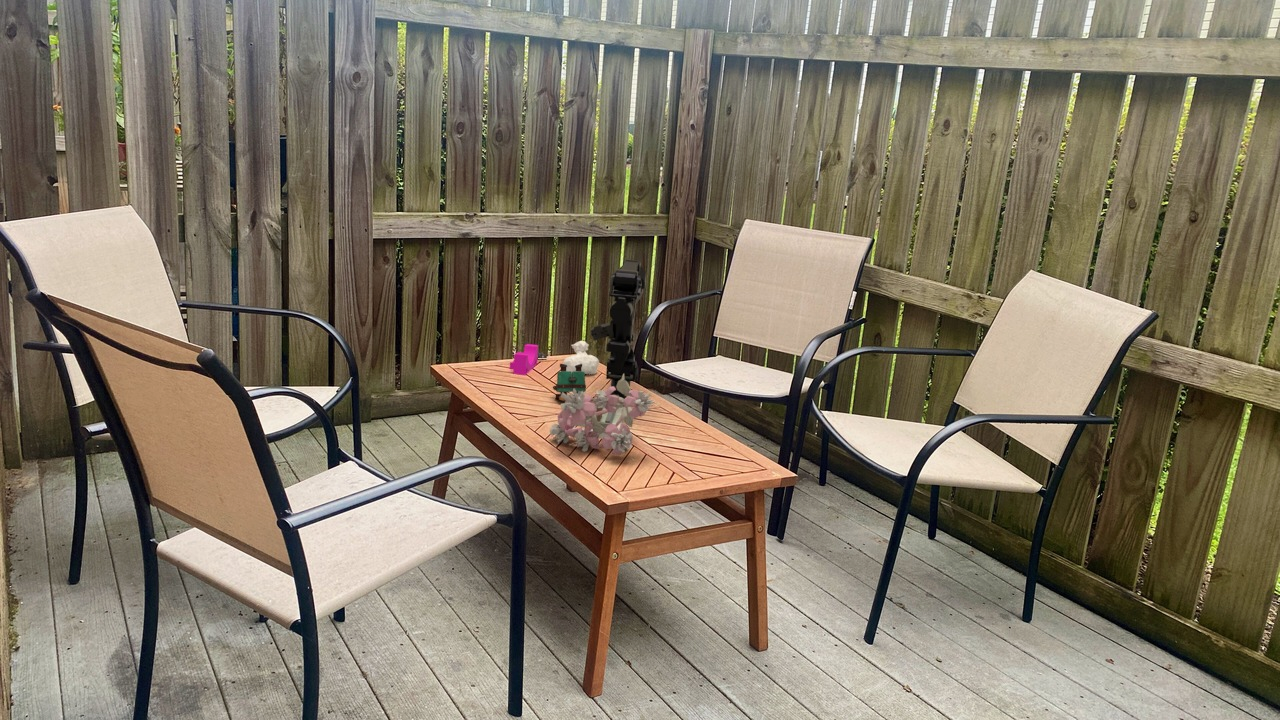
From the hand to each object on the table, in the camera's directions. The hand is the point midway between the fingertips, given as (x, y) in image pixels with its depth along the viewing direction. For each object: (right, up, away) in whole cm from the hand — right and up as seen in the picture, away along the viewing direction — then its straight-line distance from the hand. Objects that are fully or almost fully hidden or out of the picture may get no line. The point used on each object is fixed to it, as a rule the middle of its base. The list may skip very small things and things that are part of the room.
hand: (618, 370), depth 272 cm
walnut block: (-7, -12, -11) cm, 18 cm away
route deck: (-7, -14, -9) cm, 18 cm away
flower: (+8, -7, -23) cm, 26 cm away
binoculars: (-16, -4, +12) cm, 21 cm away
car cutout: (-24, +1, +50) cm, 56 cm away
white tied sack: (-13, -2, +37) cm, 39 cm away
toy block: (-32, -1, +37) cm, 48 cm away
